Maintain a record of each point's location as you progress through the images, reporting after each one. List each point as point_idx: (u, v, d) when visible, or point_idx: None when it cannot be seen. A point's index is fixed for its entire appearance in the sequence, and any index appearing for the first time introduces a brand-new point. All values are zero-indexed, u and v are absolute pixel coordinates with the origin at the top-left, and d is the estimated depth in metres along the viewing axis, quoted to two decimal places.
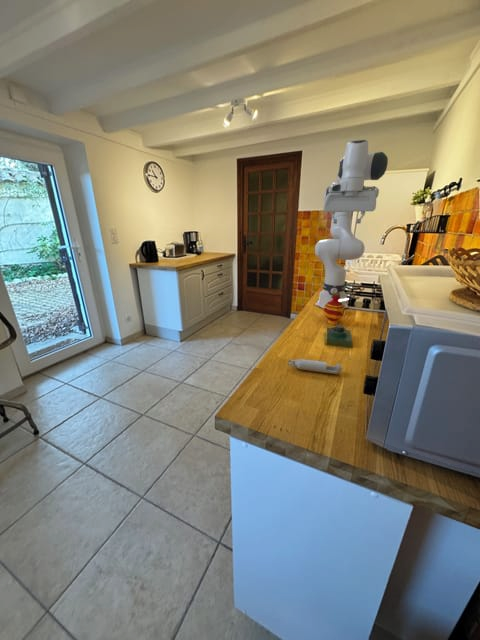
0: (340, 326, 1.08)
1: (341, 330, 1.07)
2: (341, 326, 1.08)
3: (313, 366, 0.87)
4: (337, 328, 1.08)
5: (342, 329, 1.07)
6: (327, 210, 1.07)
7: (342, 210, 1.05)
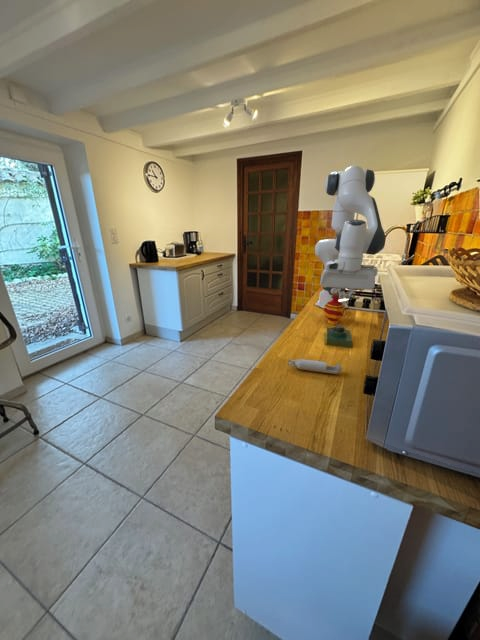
0: (340, 326, 1.08)
1: (341, 330, 1.07)
2: (341, 326, 1.08)
3: (313, 366, 0.87)
4: (337, 328, 1.08)
5: (342, 329, 1.07)
6: (324, 285, 1.03)
7: (340, 286, 1.01)
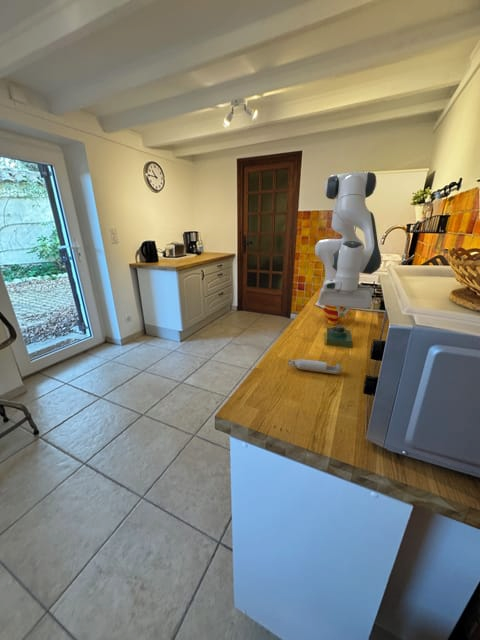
0: (340, 326, 1.08)
1: (341, 330, 1.07)
2: (341, 326, 1.08)
3: (313, 366, 0.87)
4: (337, 328, 1.08)
5: (342, 329, 1.07)
6: (322, 304, 1.06)
7: (337, 305, 1.04)
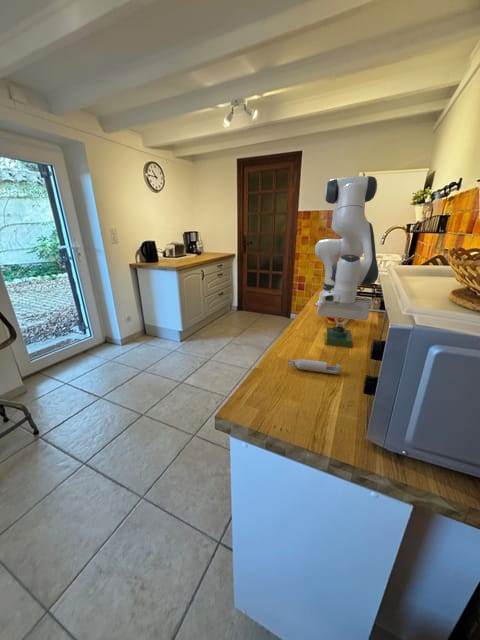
0: None
1: (341, 331, 1.08)
2: None
3: (313, 366, 0.87)
4: (337, 329, 1.08)
5: (342, 330, 1.08)
6: (321, 315, 1.08)
7: (335, 316, 1.06)
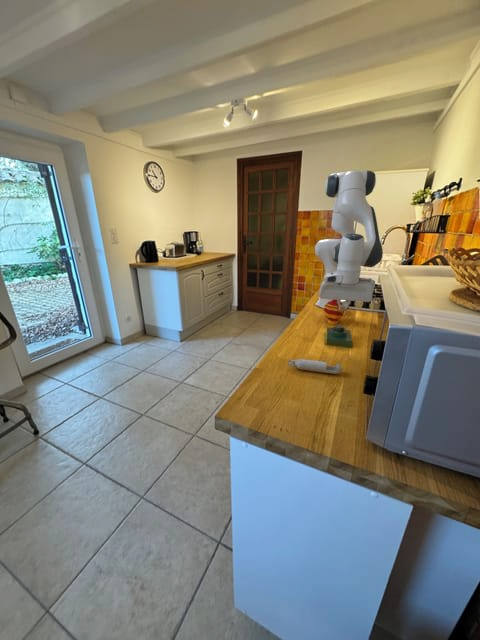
0: (340, 326, 1.08)
1: (341, 330, 1.07)
2: (341, 326, 1.08)
3: (313, 366, 0.87)
4: (337, 328, 1.08)
5: (342, 329, 1.07)
6: (323, 297, 1.05)
7: (338, 298, 1.03)
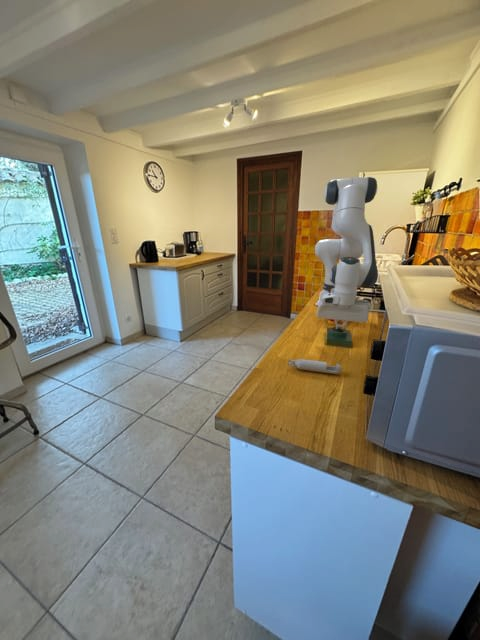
0: None
1: None
2: None
3: (313, 366, 0.87)
4: None
5: None
6: (320, 317, 1.08)
7: (335, 318, 1.06)
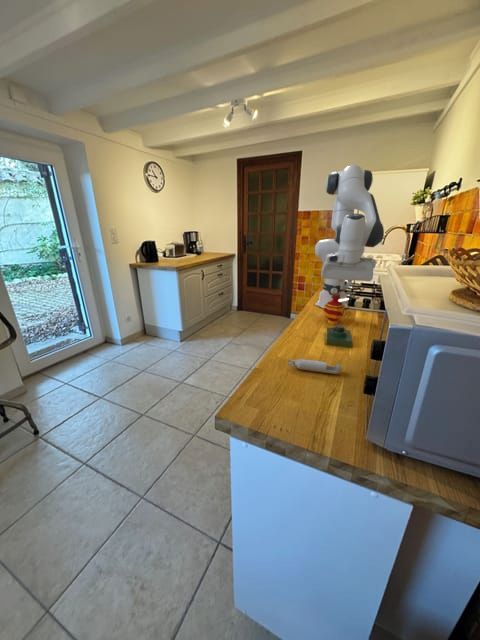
0: (340, 326, 1.08)
1: (341, 330, 1.07)
2: (341, 326, 1.08)
3: (313, 366, 0.87)
4: (337, 328, 1.08)
5: (342, 329, 1.07)
6: (325, 277, 1.08)
7: (340, 278, 1.06)
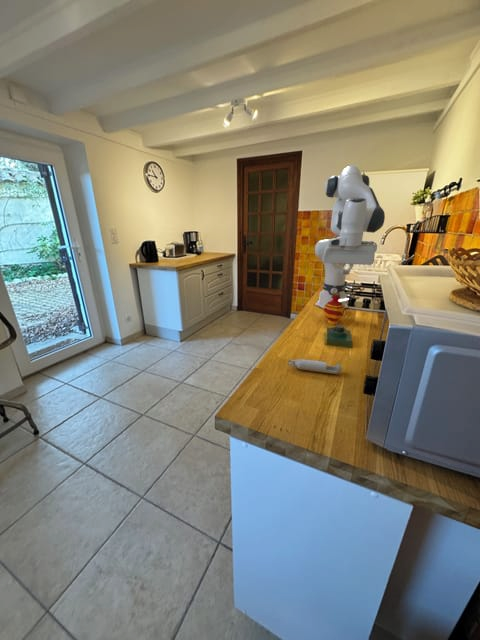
0: (340, 326, 1.08)
1: (341, 330, 1.07)
2: (341, 326, 1.08)
3: (313, 366, 0.87)
4: (337, 328, 1.08)
5: (342, 329, 1.07)
6: (326, 262, 1.09)
7: (341, 262, 1.07)
